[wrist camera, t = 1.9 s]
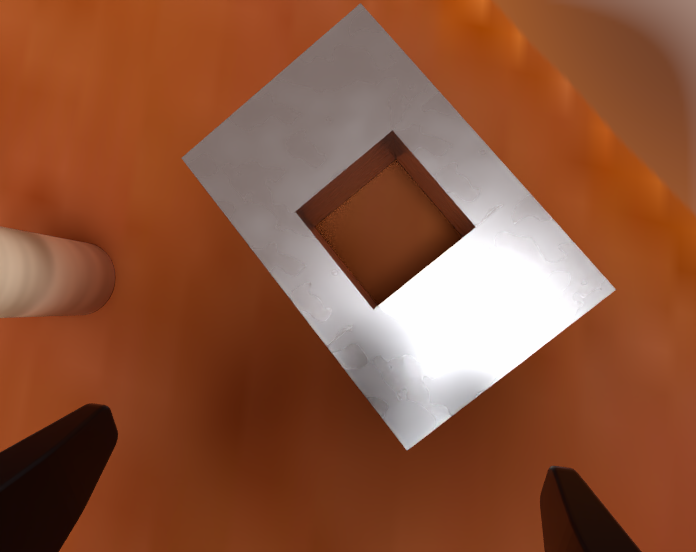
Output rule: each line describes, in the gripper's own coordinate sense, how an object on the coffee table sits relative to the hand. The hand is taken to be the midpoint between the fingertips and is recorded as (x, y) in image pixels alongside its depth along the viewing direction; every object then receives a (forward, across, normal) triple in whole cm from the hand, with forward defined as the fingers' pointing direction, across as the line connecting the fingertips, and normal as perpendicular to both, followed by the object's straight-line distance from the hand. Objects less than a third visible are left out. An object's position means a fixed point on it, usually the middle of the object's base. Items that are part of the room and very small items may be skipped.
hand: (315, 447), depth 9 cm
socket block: (+15, 0, +2) cm, 16 cm away
